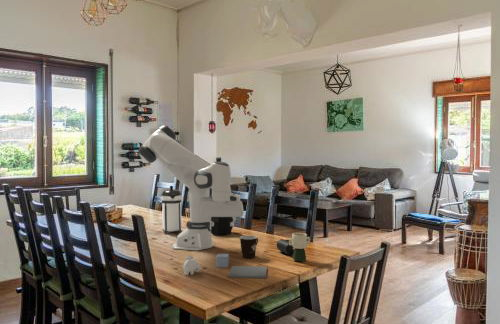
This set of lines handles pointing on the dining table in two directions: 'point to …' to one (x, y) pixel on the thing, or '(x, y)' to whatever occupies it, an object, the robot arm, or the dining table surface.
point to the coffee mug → (248, 246)
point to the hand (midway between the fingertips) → (222, 226)
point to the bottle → (221, 225)
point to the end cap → (285, 247)
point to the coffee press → (171, 210)
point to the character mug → (299, 245)
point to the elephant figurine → (190, 265)
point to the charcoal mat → (247, 272)
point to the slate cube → (222, 260)
